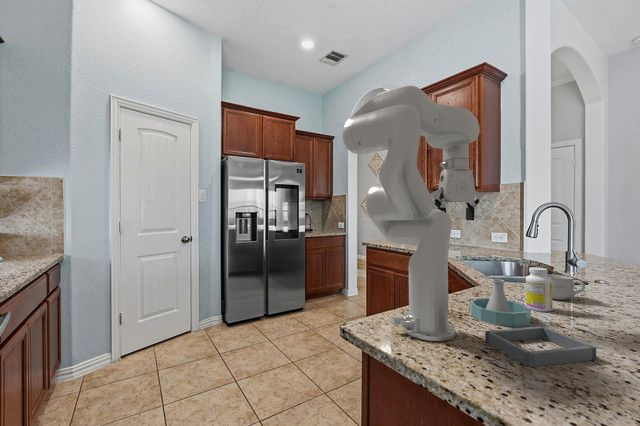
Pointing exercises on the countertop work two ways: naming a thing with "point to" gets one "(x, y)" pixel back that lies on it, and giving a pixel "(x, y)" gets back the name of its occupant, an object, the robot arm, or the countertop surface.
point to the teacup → (564, 286)
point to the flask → (498, 297)
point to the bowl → (500, 313)
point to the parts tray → (568, 354)
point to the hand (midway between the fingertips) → (456, 220)
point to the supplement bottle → (538, 290)
